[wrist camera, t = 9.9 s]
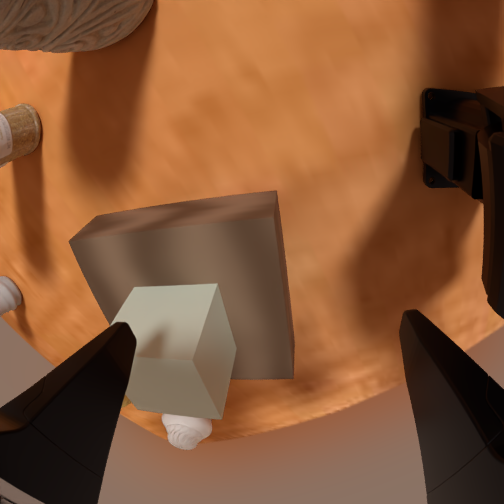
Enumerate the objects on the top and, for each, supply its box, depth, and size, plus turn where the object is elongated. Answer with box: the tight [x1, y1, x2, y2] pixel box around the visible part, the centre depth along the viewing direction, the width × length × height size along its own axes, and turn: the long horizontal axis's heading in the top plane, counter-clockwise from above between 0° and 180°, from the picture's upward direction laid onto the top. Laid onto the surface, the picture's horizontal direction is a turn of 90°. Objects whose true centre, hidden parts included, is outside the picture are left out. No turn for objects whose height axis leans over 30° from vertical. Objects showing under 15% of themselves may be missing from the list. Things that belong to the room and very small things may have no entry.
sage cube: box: [110, 283, 237, 420], centre depth 18 cm, size 6×6×6 cm
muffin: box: [162, 414, 212, 450], centre depth 31 cm, size 6×6×7 cm
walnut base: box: [69, 191, 295, 380], centre depth 22 cm, size 14×14×4 cm
